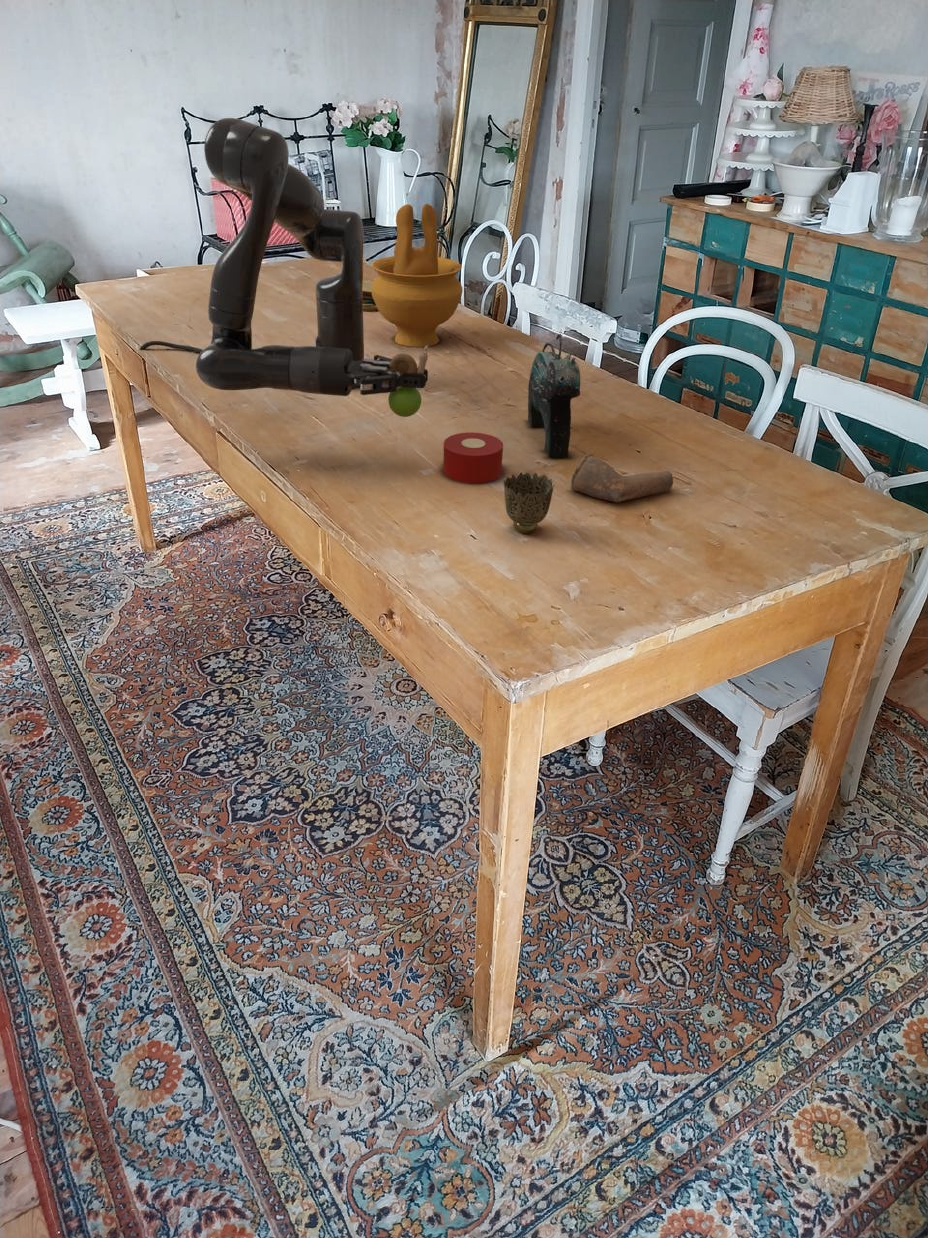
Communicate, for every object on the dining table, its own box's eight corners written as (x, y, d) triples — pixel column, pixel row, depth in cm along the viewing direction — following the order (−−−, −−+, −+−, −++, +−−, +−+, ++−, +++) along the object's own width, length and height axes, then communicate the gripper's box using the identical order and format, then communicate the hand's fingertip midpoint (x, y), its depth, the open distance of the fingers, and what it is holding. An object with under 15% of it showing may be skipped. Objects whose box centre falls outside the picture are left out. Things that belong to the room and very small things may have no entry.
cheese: (439, 481, 156) (440, 452, 153) (446, 457, 164) (447, 429, 161) (499, 485, 155) (501, 456, 152) (503, 461, 164) (505, 433, 161)
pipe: (685, 468, 152) (648, 437, 158) (602, 486, 144) (567, 453, 151) (674, 501, 156) (639, 469, 162) (594, 520, 149) (560, 486, 155)
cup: (498, 518, 145) (501, 471, 141) (545, 518, 146) (549, 470, 141) (504, 541, 139) (507, 492, 135) (553, 541, 140) (557, 492, 135)
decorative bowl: (445, 324, 232) (448, 193, 216) (473, 350, 216) (478, 210, 199) (362, 329, 226) (359, 195, 210) (384, 356, 210) (382, 213, 193)
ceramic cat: (576, 461, 165) (587, 348, 154) (540, 462, 164) (549, 349, 153) (549, 419, 181) (558, 314, 170) (516, 420, 180) (523, 315, 169)
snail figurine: (422, 424, 153) (424, 351, 146) (384, 419, 154) (384, 347, 147) (430, 412, 157) (431, 341, 151) (393, 408, 158) (393, 337, 152)
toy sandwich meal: (336, 307, 242) (335, 289, 239) (358, 295, 252) (358, 277, 250) (380, 313, 238) (380, 294, 236) (401, 301, 249) (401, 283, 246)
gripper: (310, 360, 145) (421, 369, 144) (330, 335, 157) (432, 343, 155) (312, 407, 149) (420, 415, 148) (331, 379, 161) (431, 386, 160)
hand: (426, 378), depth 152 cm, fingers closed on snail figurine
